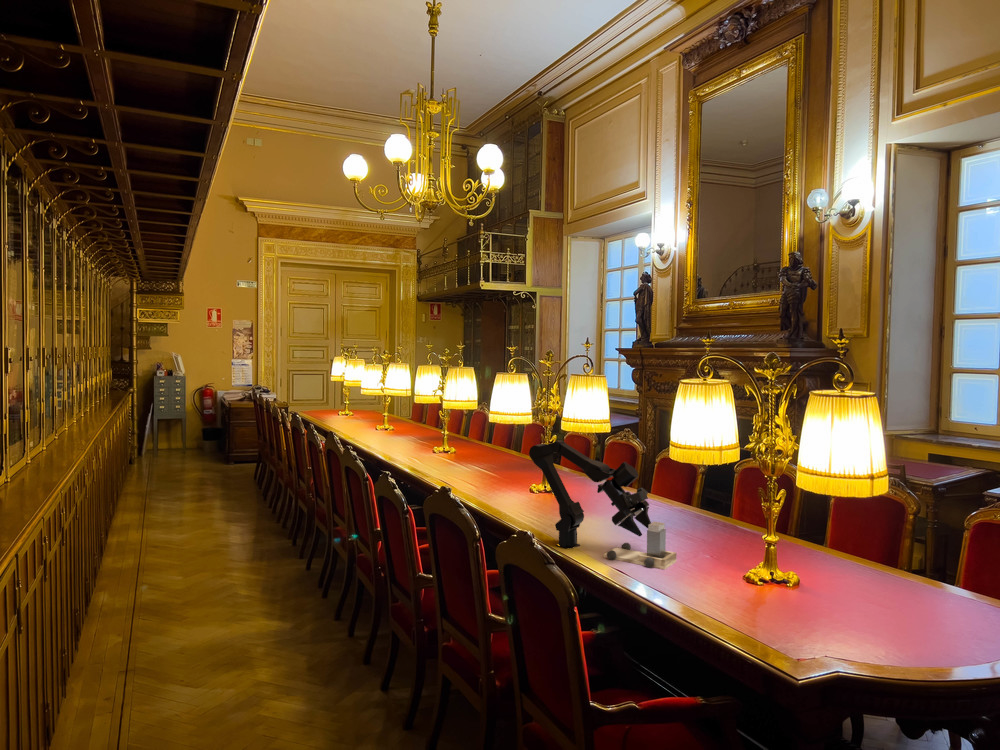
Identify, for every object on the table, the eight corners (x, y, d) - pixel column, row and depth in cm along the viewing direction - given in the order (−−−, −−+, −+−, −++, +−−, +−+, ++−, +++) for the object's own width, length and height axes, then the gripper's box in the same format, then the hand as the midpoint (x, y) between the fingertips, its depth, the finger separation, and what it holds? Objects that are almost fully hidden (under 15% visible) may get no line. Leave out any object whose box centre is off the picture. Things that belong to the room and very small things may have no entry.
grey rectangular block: (646, 560, 224) (647, 524, 224) (652, 556, 229) (653, 521, 228) (659, 562, 222) (660, 526, 221) (665, 559, 226) (665, 523, 226)
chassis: (601, 558, 230) (601, 549, 230) (617, 549, 240) (617, 540, 240) (663, 570, 217) (663, 561, 217) (677, 560, 227) (677, 551, 227)
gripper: (621, 485, 222) (652, 524, 216) (644, 476, 237) (674, 513, 231) (599, 505, 227) (628, 544, 221) (623, 495, 242) (651, 532, 236)
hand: (646, 532), depth 227 cm, fingers open, 9 cm apart
